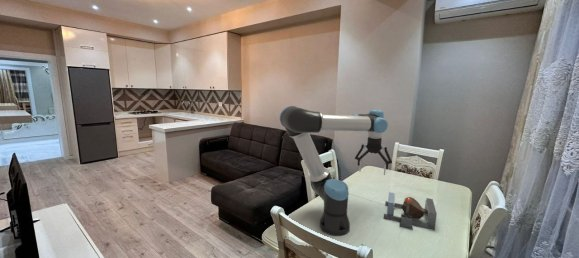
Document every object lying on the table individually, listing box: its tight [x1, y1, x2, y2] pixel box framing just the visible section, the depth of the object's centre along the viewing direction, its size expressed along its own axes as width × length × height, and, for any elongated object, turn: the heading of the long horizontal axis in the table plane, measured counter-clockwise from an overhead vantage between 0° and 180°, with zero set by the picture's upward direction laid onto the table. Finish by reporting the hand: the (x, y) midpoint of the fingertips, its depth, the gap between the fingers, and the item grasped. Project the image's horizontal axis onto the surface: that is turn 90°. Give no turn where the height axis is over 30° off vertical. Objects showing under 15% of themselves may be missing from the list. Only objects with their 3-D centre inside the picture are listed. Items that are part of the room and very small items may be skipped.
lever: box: [404, 197, 412, 218], centre depth 119 cm, size 3×3×12 cm
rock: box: [401, 196, 425, 220], centre depth 128 cm, size 12×10×10 cm
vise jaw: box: [386, 191, 396, 216], centre depth 133 cm, size 14×3×9 cm, turn 155°
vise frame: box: [382, 197, 438, 231], centre depth 128 cm, size 22×24×9 cm
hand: (371, 172), depth 137 cm, fingers open, 13 cm apart
